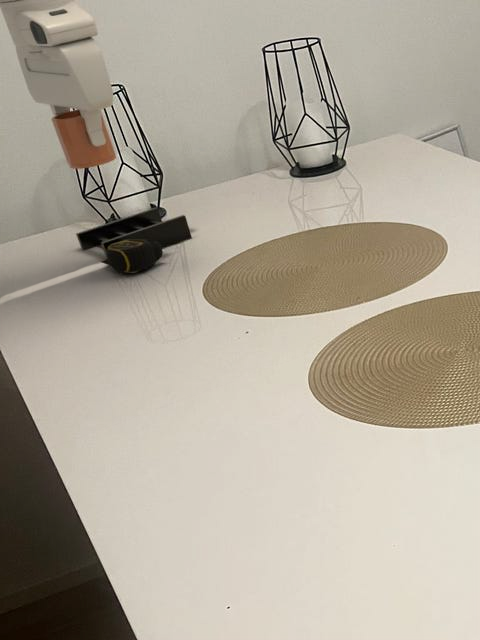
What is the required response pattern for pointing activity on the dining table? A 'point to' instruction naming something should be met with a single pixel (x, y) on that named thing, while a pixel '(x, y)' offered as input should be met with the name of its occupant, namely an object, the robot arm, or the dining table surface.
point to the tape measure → (133, 254)
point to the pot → (81, 141)
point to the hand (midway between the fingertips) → (86, 142)
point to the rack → (136, 231)
